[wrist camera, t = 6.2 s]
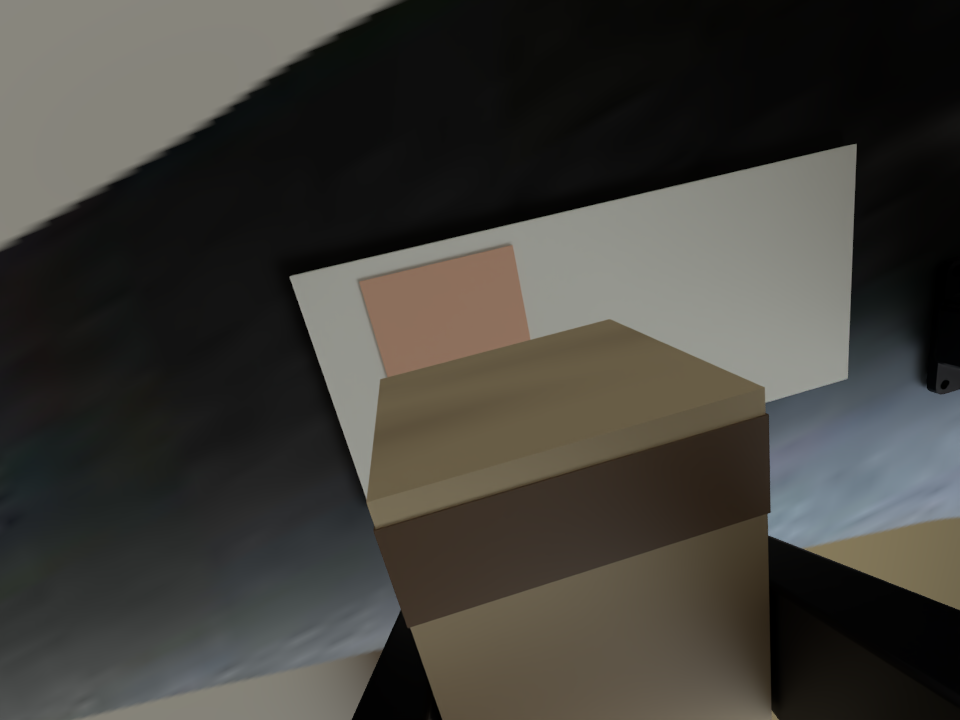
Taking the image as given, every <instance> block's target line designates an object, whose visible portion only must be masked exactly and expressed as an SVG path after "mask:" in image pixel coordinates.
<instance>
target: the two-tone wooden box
mask: <svg viewBox="0 0 960 720" xmlns="http://www.w3.org/2000/svg"><path fill="white" fill-rule="evenodd" d="M366 503H367V506H368V508H369V511H370V514H371V517H372V520H373V523H374V534H375V537H376V540H377V543H378V545H379V548H380V551H381V554H382V557H383V560H384V562H385V565H386V568H387V571H388V574H389V577H390V579H391V582H392V585H393V588H394V591H395V594H396V596H397V599H398V602H399V605H400V608H401V611H402V613H403V616H404V619H405V622H406V625H407V628H410V629H411V631H412V634H413V637H414V640H415V643H416V646H417V649H418V651H419V654H420V657H421V660H422V663H423V666H424V669H425V671H426V674H427V677H428V680H429V683H430V686H431V689H432V691H433V694H434V697H435V700H436V703H437V706H438V709H439V711H440V714H441V717H442V720H772V717H771V665H770V615H769V566H768V517H767V514H768V513H770V458H769V415H768V414H766V413H765V387H763V386H760V385H758V384H756V383H754V382H751V381H749V380H747V379H745V378H742V377H740V376H738V375H735V374H733V373H731V372H729V371H726V370H724V369H722V368H720V367H717V366H715V365H713V364H711V363H708V362H706V361H704V360H702V359H699V358H697V357H695V356H692V355H690V354H688V353H686V352H683V351H681V350H679V349H677V348H674V347H672V346H670V345H668V344H665V343H663V342H661V341H658V340H656V339H654V338H652V337H649V336H647V335H645V334H643V333H640V332H638V331H636V330H634V329H631V328H629V327H627V326H625V325H622V324H620V323H618V322H615V321H613V320H611V319H608V320H604V321H600V322H596V323H593V324H589V325H585V326H581V327H577V328H574V329H570V330H566V331H562V332H558V333H555V334H551V335H547V336H543V337H539V338H535V339H532V340H528V341H524V342H520V343H516V344H513V345H509V346H505V347H501V348H497V349H494V350H490V351H486V352H482V353H478V354H474V355H471V356H467V357H463V358H459V359H455V360H452V361H448V362H444V363H440V364H436V365H433V366H429V367H425V368H421V369H417V370H414V371H410V372H406V373H402V374H398V375H394V376H391V377H387V378H383V379H380V386H379V395H378V404H377V413H376V422H375V431H374V440H373V448H372V457H371V466H370V475H369V484H368V493H367V502H366Z"/></svg>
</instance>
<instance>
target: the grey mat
mask: <svg viewBox="0 0 960 720" xmlns="http://www.w3.org/2000/svg"><path fill="white" fill-rule="evenodd" d="M856 149H857V144H853V145H848V146H843V147H839V148H834V149H830V150H826V151H821V152H817V153H813V154H809V155H804V156H800V157H796V158H791V159H787V160H783V161H779V162H774V163H770V164H766V165H762V166H757V167H753V168H749V169H744V170H740V171H736V172H732V173H727V174H723V175H719V176H715V177H710V178H706V179H702V180H697V181H693V182H689V183H685V184H680V185H676V186H672V187H668V188H663V189H659V190H655V191H650V192H646V193H642V194H638V195H633V196H629V197H625V198H621V199H616V200H612V201H608V202H603V203H599V204H595V205H591V206H586V207H582V208H578V209H573V210H569V211H565V212H561V213H556V214H552V215H548V216H544V217H539V218H535V219H531V220H526V221H522V222H518V223H514V224H509V225H505V226H501V227H497V228H492V229H488V230H484V231H479V232H475V233H471V234H467V235H462V236H458V237H454V238H450V239H445V240H441V241H437V242H432V243H428V244H424V245H420V246H415V247H411V248H407V249H403V250H398V251H394V252H390V253H385V254H381V255H377V256H373V257H368V258H364V259H360V260H355V261H351V262H347V263H343V264H338V265H334V266H330V267H326V268H321V269H317V270H313V271H308V272H304V273H300V274H296V275H292V276H290V280H291V283H292V286H293V288H294V291H295V294H296V297H297V300H298V303H299V306H300V309H301V312H302V314H303V317H304V320H305V323H306V326H307V329H308V332H309V335H310V338H311V340H312V343H313V346H314V349H315V352H316V355H317V358H318V361H319V364H320V366H321V369H322V372H323V375H324V378H325V381H326V384H327V387H328V390H329V392H330V395H331V398H332V401H333V404H334V407H335V410H336V413H337V416H338V418H339V421H340V424H341V427H342V430H343V433H344V436H345V439H346V442H347V444H348V447H349V450H350V453H351V456H352V459H353V462H354V465H355V468H356V470H357V473H358V476H359V479H360V482H361V485H362V488H363V491H364V494H365V496H366V499H367V493H368V484H369V475H370V466H371V457H372V448H373V440H374V431H375V422H376V413H377V404H378V395H379V386H380V379H383V378H387V377H391V376H394V375H398V374H402V373H406V372H410V371H414V370H417V369H421V368H425V367H429V366H433V365H436V364H440V363H444V362H448V361H452V360H455V359H459V358H463V357H467V356H471V355H474V354H478V353H482V352H486V351H490V350H494V349H497V348H501V347H505V346H509V345H513V344H516V343H520V342H524V341H528V340H532V339H535V338H539V337H543V336H547V335H551V334H555V333H558V332H562V331H566V330H570V329H574V328H577V327H581V326H585V325H589V324H593V323H596V322H600V321H604V320H608V319H611V320H613V321H615V322H618V323H620V324H622V325H625V326H627V327H629V328H631V329H634V330H636V331H638V332H640V333H643V334H645V335H647V336H649V337H652V338H654V339H656V340H658V341H661V342H663V343H665V344H668V345H670V346H672V347H674V348H677V349H679V350H681V351H683V352H686V353H688V354H690V355H692V356H695V357H697V358H699V359H702V360H704V361H706V362H708V363H711V364H713V365H715V366H717V367H720V368H722V369H724V370H726V371H729V372H731V373H733V374H735V375H738V376H740V377H742V378H745V379H747V380H749V381H751V382H754V383H756V384H758V385H760V386H763V387H765V403H766V402H770V401H773V400H777V399H780V398H784V397H787V396H790V395H794V394H797V393H801V392H804V391H807V390H811V389H814V388H818V387H821V386H824V385H828V384H831V383H835V382H838V381H842V380H845V379H848V354H849V328H850V303H851V277H852V251H853V226H854V200H855V174H856Z"/></svg>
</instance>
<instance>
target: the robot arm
mask: <svg viewBox="0 0 960 720" xmlns="http://www.w3.org/2000/svg"><path fill="white" fill-rule="evenodd" d="M927 389H928V390H929V391H931V392H934V393H938V394H946V393H949V392H952V391H955V390H959V389H960V256H958V257H954V258H951V259H948V260H946V261H944V262H943V263H942V264H941V265H940V267H939V269H938V273H937V283H936V294H935V304H934V314H933V324H932V335H931V345H930V355H929V365H928V376H927ZM768 566H769V615H770V665H771V710H772V711H773V712H774V714H775V715H776V716H777V718H778V719H779V720H960V610H958V609H955V608H953V607H950V606H948V605H945V604H942V603H940V602H937V601H934V600H932V599H930V598H927V597H925V596H922V595H919V594H917V593H914V592H911V591H909V590H907V589H904V588H901V587H899V586H896V585H894V584H891V583H889V582H886V581H884V580H881V579H879V578H876V577H873V576H871V575H868V574H866V573H863V572H861V571H858V570H855V569H853V568H850V567H848V566H845V565H843V564H840V563H837V562H835V561H832V560H830V559H827V558H824V557H822V556H820V555H817V554H814V553H812V552H809V551H807V550H804V549H802V548H799V547H797V546H794V545H791V544H789V543H786V542H784V541H781V540H779V539H776V538H773V537H771V536H768ZM352 720H442V717H441V714H440V711H439V709H438V706H437V703H436V700H435V697H434V694H433V691H432V689H431V686H430V683H429V680H428V677H427V674H426V671H425V669H424V666H423V663H422V660H421V657H420V654H419V651H418V649H417V646H416V643H415V640H414V637H413V634H412V631H411V629H410V628H407V625H406V622H405V619H404V616H403V613H402V611H400V613H399V615H398V618H397V620H396V622H395V624H394V626H393V629H392V631H391V633H390V635H389V638H388V640H387V642H386V644H385V647H384V649H383V651H382V653H381V655H380V658H379V660H378V662H377V664H376V667H375V669H374V671H373V674H372V676H371V678H370V680H369V682H368V684H367V687H366V689H365V691H364V693H363V696H362V698H361V700H360V702H359V704H358V707H357V709H356V711H355V713H354V716H353V718H352Z"/></svg>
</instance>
